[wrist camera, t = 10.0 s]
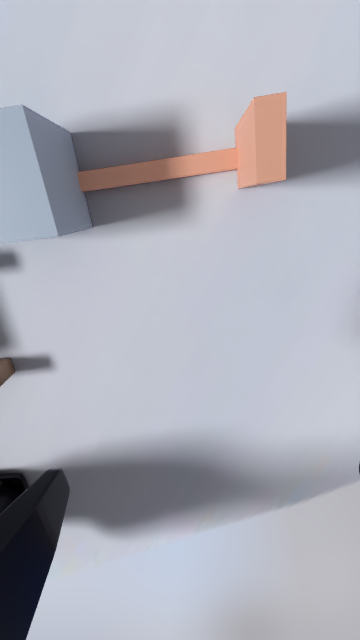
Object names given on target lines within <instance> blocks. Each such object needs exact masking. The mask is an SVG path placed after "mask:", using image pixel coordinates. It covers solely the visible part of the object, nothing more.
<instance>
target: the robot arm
mask: <svg viewBox="0 0 360 640" xmlns="http://www.w3.org/2000/svg"><path fill="white" fill-rule="evenodd" d="M359 473H360V464H359ZM68 497H69V485H68V482H67V479H66V477H65V474H64V471H63V470H62V469H49V470H47V471H46V472H45V473H44V474H43V475H42V476H41V477H40V478H38V479H37V480H36V481H35V482H34V483H33V484H32V485H31V486H30V487H28V485H27V483H26V480H25V478H24V477H23V476H22V475H21V474H6V475H0V640H26V637H27V634H28V631H29V628H30V625H31V622H32V619H33V616H34V614H35V610H36V608H37V605H38V601H39V599H40V596H41V593H42V590H43V587H44V584H45V581H46V578H47V575H48V572H49V569H50V566H51V563H52V560H53V557H54V554H55V551H56V547H57V543H58V539H59V535H60V531H61V527H62V522H63V518H64V514H65V510H66V506H67V502H68Z"/></svg>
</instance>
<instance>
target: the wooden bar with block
mask: <svg viewBox="0 0 360 640" xmlns="http://www.w3.org/2000/svg"><path fill="white" fill-rule="evenodd" d="M286 98H287V92H283V93H277V94H271V95H265V96H259V97H254V98H253V100H252V102H251V103H250V105H249V106H248V108H247V110H246V111H245V113H244V114H243V116H242V118H241V119H240V121H239V123H238V124H237V126H236V127H235V136H236V148H232V149H225V150H219V151H212V152H206V153H199V154H192V155H186V156H179V157H173V158H166V159H160V160H153V161H147V162H140V163H134V164H127V165H120V166H114V167H107V168H101V169H94V170H88V171H81V172H80V171H79V167H78V162H77V158H76V154H75V149H74V145H73V141H72V136H71V132H69V131H67V130H65V129H64V128H62V127H60V126H58V125H57V124H55V123H53V122H51V121H50V120H48V119H46V118H45V117H43V116H41V115H39V114H38V113H36V112H34V111H32V110H31V109H29V108H27V107H25V106H24V105H16V106H11V107H5V108H0V244H7V243H14V242H21V241H29V240H36V239H43V238H51V237H58V236H62V235H66V234H69V233H73V232H77V231H81V230H84V229H88V228H92V223H91V218H90V214H89V210H88V205H87V201H86V197H85V193H84V192H87V191H93V190H100V189H107V188H114V187H121V186H128V185H134V184H141V183H148V182H155V181H162V180H168V179H175V178H182V177H189V176H196V175H202V174H209V173H216V172H223V171H230V170H236V169H237V176H238V189H240V188H247V187H254V186H260V185H265V184H269V183H274V182H278V181H283V180H286Z"/></svg>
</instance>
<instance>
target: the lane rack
mask: <svg viewBox="0 0 360 640" xmlns="http://www.w3.org/2000/svg"><path fill="white" fill-rule="evenodd" d="M14 373H15V370H14V367H13V364H12V362H11V359H10V358H4V359H0V386H1V385H2V384H3V383H4V382H5V381H6V380H8V379H9V378H10V377H11V376H12V375H13V374H14Z"/></svg>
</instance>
